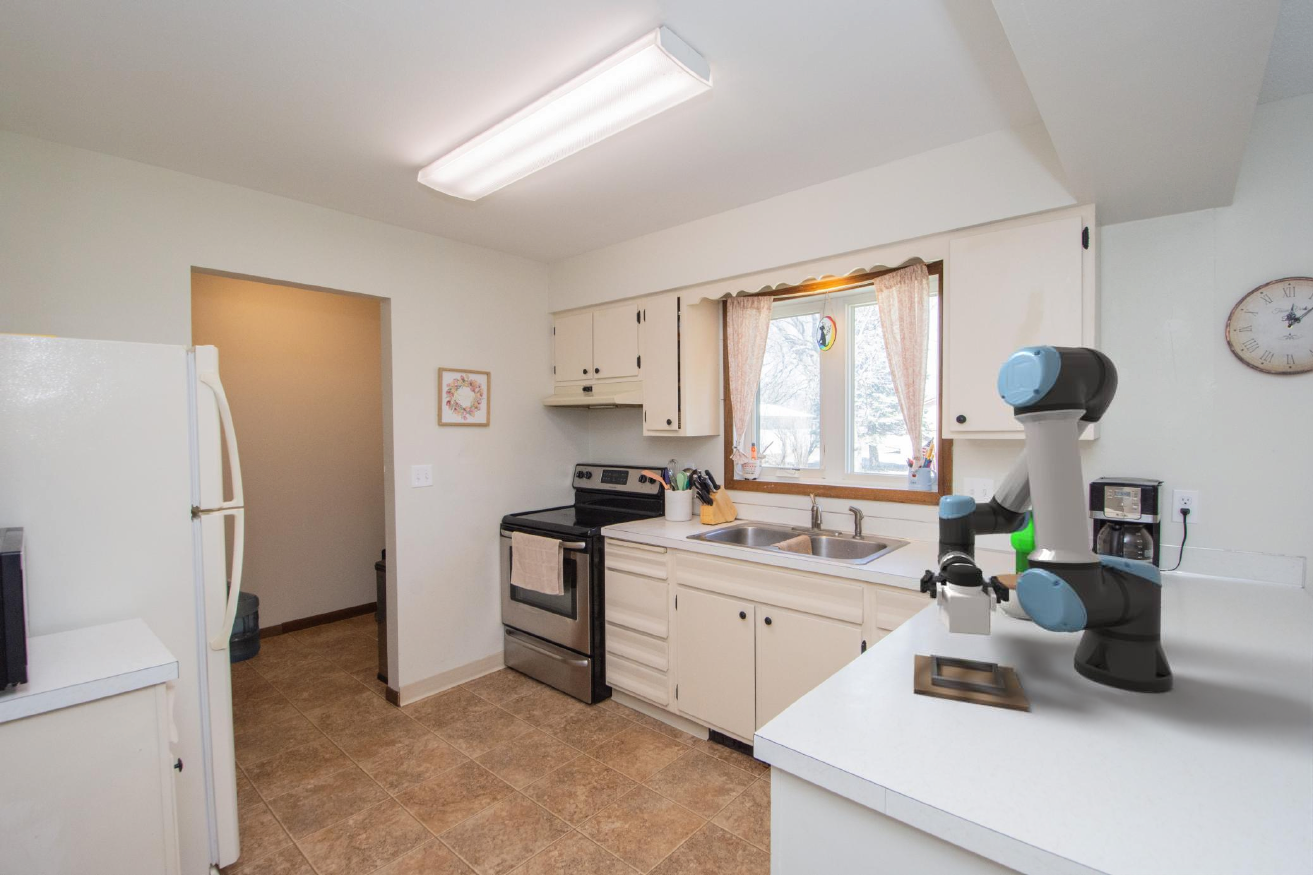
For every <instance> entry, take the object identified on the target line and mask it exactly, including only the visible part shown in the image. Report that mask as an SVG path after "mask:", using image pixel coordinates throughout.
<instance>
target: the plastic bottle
mask: <svg viewBox="0 0 1313 875" xmlns="http://www.w3.org/2000/svg"><path fill="white" fill-rule="evenodd" d="M1028 511H1029V513H1030V519H1029V525H1028V527H1027V528H1026V529H1024V530H1023V531H1020V532H1014V533H1011V534H1010V544H1011V548H1013V549H1014V550H1015V573H1014V574H1015V575H1018V572H1022V573H1024V572H1025V571H1027V570H1029V569H1028V558H1027V556H1028V555H1029V554H1030V553H1031V552H1032V551H1034V550H1035V547H1036V546H1035V536H1034V525H1033V515H1032V509H1028Z"/></svg>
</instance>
